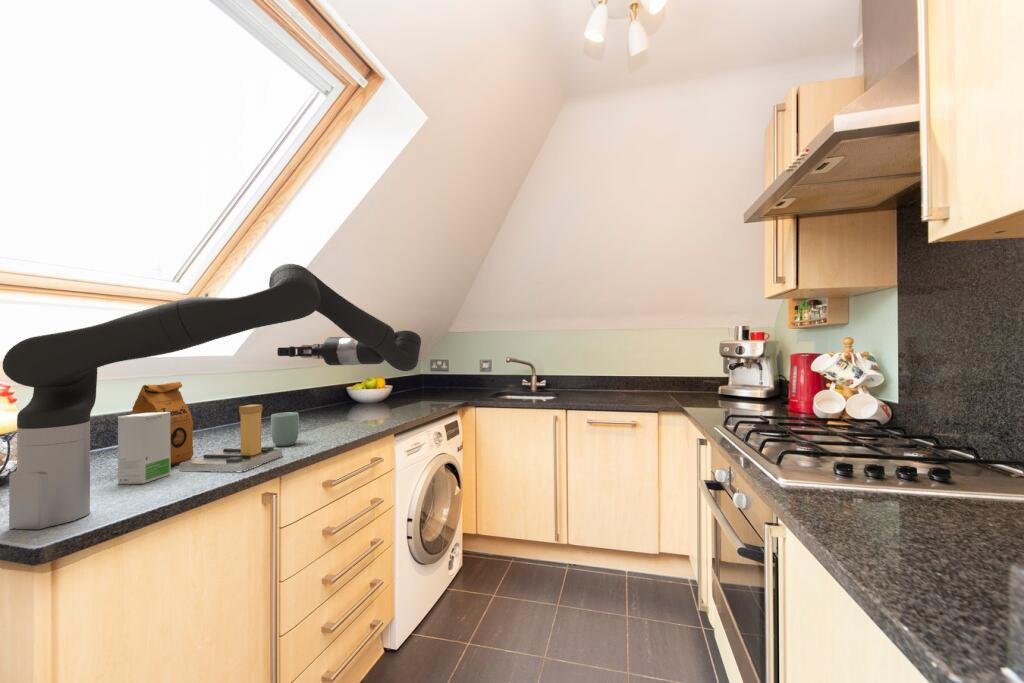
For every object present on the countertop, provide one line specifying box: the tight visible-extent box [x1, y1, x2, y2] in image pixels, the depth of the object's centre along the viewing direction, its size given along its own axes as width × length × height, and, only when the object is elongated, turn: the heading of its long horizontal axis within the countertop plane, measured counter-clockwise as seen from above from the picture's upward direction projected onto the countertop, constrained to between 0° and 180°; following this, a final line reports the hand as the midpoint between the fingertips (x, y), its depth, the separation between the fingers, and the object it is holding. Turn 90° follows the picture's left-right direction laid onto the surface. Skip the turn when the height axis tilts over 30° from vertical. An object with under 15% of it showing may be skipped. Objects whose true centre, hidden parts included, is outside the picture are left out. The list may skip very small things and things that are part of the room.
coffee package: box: [131, 381, 194, 466], centre depth 117 cm, size 10×12×22 cm
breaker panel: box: [179, 446, 283, 473], centre depth 118 cm, size 16×17×3 cm
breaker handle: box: [238, 404, 263, 456], centre depth 118 cm, size 4×3×13 cm
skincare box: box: [117, 412, 172, 485], centre depth 104 cm, size 8×7×16 cm
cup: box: [270, 411, 300, 447], centre depth 140 cm, size 8×8×10 cm
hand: (288, 351), depth 118 cm, fingers open, 8 cm apart
